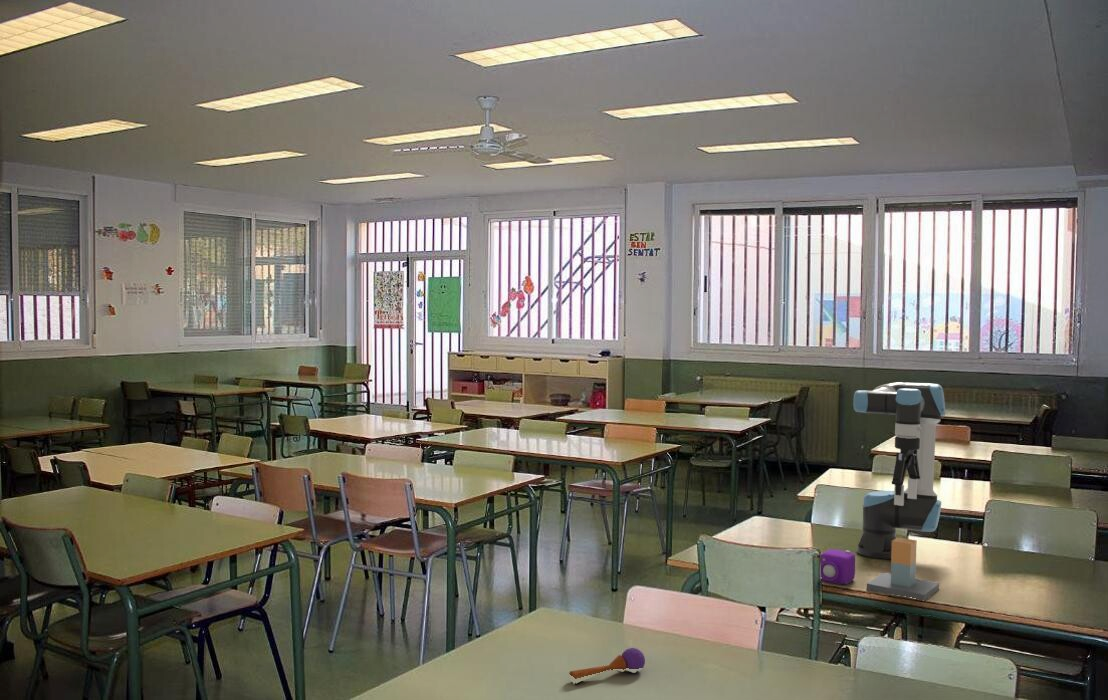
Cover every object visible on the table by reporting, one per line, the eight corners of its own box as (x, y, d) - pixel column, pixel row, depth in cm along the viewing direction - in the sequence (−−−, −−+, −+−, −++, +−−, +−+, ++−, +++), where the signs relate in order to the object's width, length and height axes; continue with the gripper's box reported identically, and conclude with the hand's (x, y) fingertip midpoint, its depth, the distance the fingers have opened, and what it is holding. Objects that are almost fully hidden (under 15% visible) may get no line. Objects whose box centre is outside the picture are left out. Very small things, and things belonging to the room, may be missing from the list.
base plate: (866, 589, 290) (866, 583, 290) (883, 578, 303) (883, 572, 303) (924, 601, 279) (924, 594, 279) (938, 589, 292) (939, 583, 291)
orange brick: (891, 562, 290) (891, 540, 290) (897, 558, 295) (897, 537, 294) (910, 565, 286) (910, 544, 286) (915, 561, 291) (916, 540, 291)
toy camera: (815, 584, 295) (815, 554, 295) (823, 574, 307) (824, 545, 307) (848, 589, 290) (849, 559, 290) (856, 578, 302) (856, 549, 302)
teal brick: (890, 583, 290) (891, 562, 290) (896, 579, 295) (897, 558, 295) (909, 587, 287) (910, 565, 286) (915, 582, 291) (915, 561, 291)
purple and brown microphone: (565, 663, 216) (634, 643, 225) (568, 688, 215) (638, 667, 224) (576, 667, 210) (647, 647, 220) (580, 693, 210) (651, 672, 219)
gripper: (907, 441, 277) (905, 509, 278) (930, 433, 296) (928, 497, 297) (882, 439, 281) (880, 506, 282) (907, 431, 301) (905, 494, 302)
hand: (905, 501), depth 290 cm, fingers open, 13 cm apart
